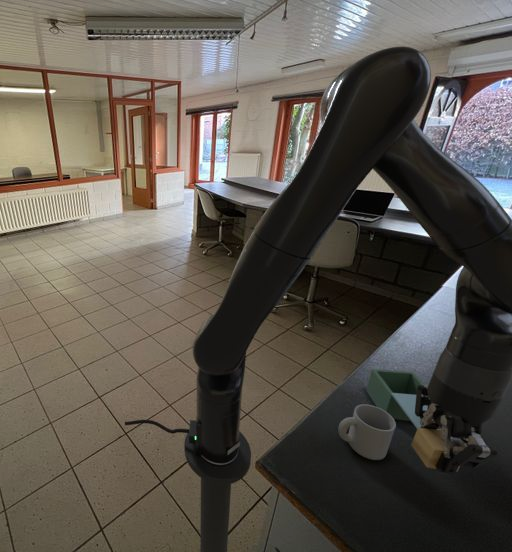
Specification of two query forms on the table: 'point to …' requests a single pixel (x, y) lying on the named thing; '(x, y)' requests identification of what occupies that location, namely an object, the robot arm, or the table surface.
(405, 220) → the table surface
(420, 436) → the block
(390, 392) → the display box
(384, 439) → the cup
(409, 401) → the teal box lid
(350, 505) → the table surface
